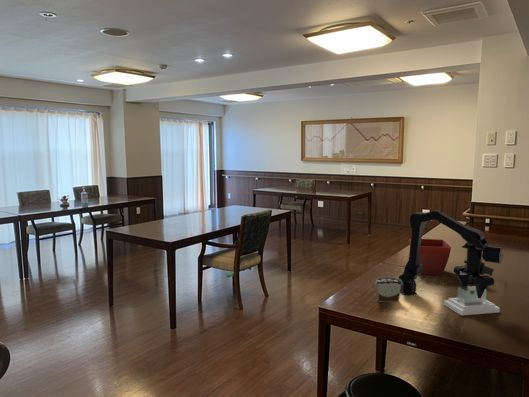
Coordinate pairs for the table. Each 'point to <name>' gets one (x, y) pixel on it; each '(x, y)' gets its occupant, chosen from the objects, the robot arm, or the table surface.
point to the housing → (470, 296)
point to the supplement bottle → (471, 279)
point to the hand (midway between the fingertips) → (472, 294)
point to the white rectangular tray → (471, 307)
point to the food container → (388, 289)
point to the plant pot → (433, 256)
